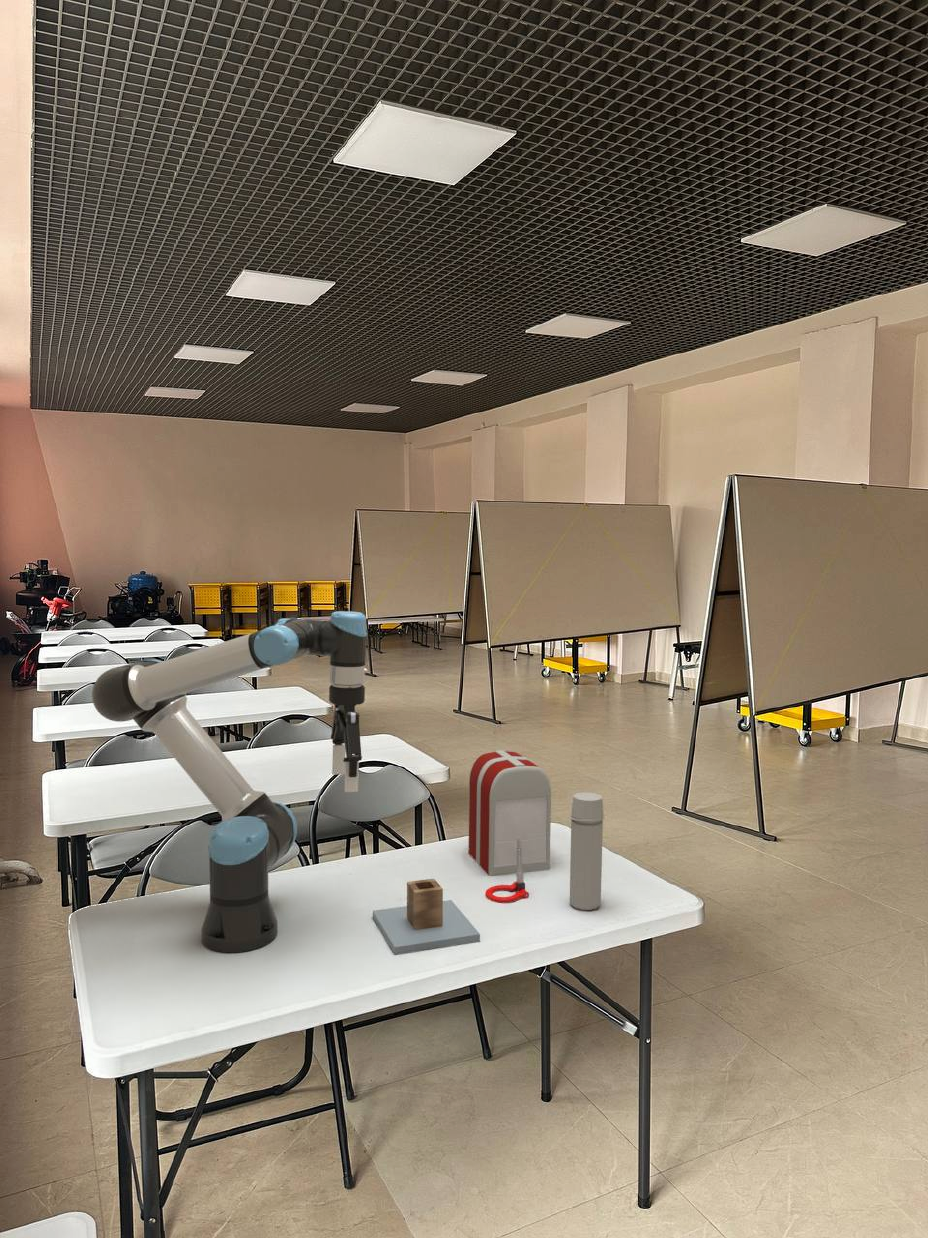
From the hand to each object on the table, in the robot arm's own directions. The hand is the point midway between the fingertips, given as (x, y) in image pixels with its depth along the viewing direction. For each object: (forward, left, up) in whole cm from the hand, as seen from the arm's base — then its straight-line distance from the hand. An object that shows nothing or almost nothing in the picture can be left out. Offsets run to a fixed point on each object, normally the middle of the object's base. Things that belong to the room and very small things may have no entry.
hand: (344, 782), depth 188 cm
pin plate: (+14, -12, -30) cm, 35 cm away
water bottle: (+52, -11, -30) cm, 61 cm away
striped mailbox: (+46, +19, -30) cm, 59 cm away
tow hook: (+37, -1, -30) cm, 48 cm away
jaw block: (+14, -12, -28) cm, 34 cm away
